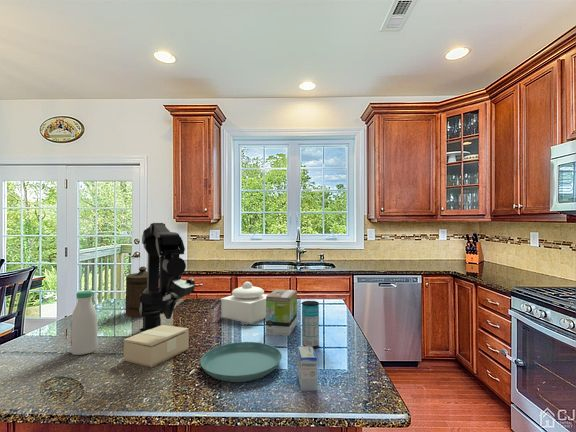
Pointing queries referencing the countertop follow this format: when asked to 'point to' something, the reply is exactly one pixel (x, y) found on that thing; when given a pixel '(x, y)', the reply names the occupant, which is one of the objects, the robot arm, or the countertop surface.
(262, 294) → the white square canister
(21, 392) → the countertop surface
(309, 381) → the medicine box
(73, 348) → the milk bottle
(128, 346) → the cardboard box
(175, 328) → the lid
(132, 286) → the wooden container
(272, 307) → the tea box
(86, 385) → the countertop surface
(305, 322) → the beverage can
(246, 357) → the green plate
